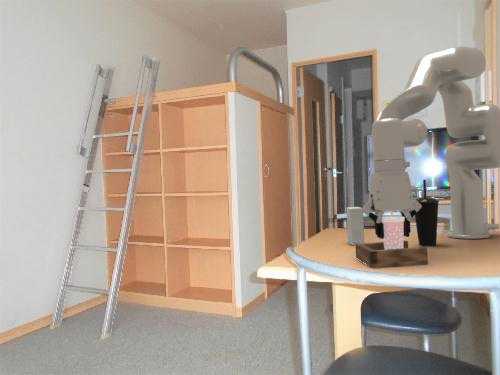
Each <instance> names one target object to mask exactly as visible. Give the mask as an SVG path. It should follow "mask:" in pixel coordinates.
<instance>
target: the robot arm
mask: <svg viewBox="0 0 500 375" xmlns="http://www.w3.org/2000/svg"><path fill="white" fill-rule="evenodd" d="M486 65H487V58H486V56H485V55H484V52H483V51H481V49H479V48H478V47H477V48H476V47H468V46H453V47H448V48H445V49H442V50H439V51H435V52H432V53H428V54H426V55H423V56H421V57H420V58H419V59H417V61H416V62H415V64H414V67H413V69H412V71H411V74H410V76H409V78H408V81H407V83H406V86H405V88H404V89H403V91H402V92H400V93H399V94H398V95H396V96H395V97H394V98H393V99H392V100H391V101H390V102H388V103H387V104H386V105H385V106H384V107H383V108H382V109H381V110H380V112H379V113H378V115H377V118H376V120H375V121H374V122H372V124H371V142H372V154H373V157H372V158H373V168H374V169H373V171H374V173H371V174H370V178H369V179H370V180H369V188H368V200H367V202H366V203H365V204H364V205H363V207H361V208H362V211H363V214H365V215H366V216H368V217H369V219H370V220H372V222H374V232H375V236H376V237H377V238H378V239H381V240H383V238H384V224H383V223H382V221H381V220H382V217H384V214H385V213H388V212H390V213H391V211H393V212H399V213H400V216H401V217H405V219H404V220H405V221H404V237H406V238H410V233H411V231H412V230H411V221H412V220H413V218H415V214H416V212H418V211H419V209H420V208H421V207H422V205H421V204H420V203H419V202H418V201H416V200H415V199H416V198H414V197H413V190H412V184H411V180H410V175H409V171H406V170H407V168H409V167H410V166H411V162H410V161H407V160H406V159H405V157H406V156H405V148H414V147H418V146H421V145H422V144H423V143H424V142H425V141H426V140H427V137H428V128H427V125H426V124H425V122H424V121H423V120H421V119H419V118H413V117H412V118H409V117H411V116H413V115H415V114H418V113H419V112H421V111H423V110H425V109H426V108H428V107H429V106H430V105H432V103H433V102H434V101H435V99H436V97H437V94H438V93H439V95H440V97H441V99H442V104H443V111H444V119H445V125H446V126H445V127H446V130H447V133H448V135H449V137H451V138H456V139H459V138H471V137H479V136H480V137H481V136H483V137H484V138H485V139H477V140H475V139H474V140H473V139H472V140H466V141H465V140H464V141H458V142H455V143H451V144H450V145H448V147H447V148H446V149H445V153H444V154H445V161H446V162H445V163H446V166H447V170H448V175H449V176H448V178H449V188H450V189H449V191H450V193H449V194H450V209H451V210H450V212H451V215H450V216H451V231H448V232H446V235H447V237H449V238H453V239H454V238H455V239H462V240H464V239H465V240H469V239H470V240H473V239H474V240H476V239H477V240H478V239H480V240H481V239H487V238H490V237H491V232H490V231H491V230H499V229H500V224H499V223H488V222H486V221H485V208H484V206H485V205H484V186H483V182H482V179H481V178H480V176H479V175H478V174H477V173H476V172H475V170H476V171H477V170H492V169H499V168H500V107H499V106H498V105H496V104H494V103H487V104H486V103H485V104H479V105H475V104H474V100H473V91H472V90H471V88H470V87H469V85H468V84H466V83H465V82H464V81H466V80H471V79H475V78H479V77H481V75H483V73H484V72H485V70H486ZM372 211H374V213H373V212H372Z"/></svg>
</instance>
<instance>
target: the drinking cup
mask: <svg viewBox="0 0 500 375" xmlns="http://www.w3.org/2000/svg"><path fill="white" fill-rule="evenodd" d="M422 180H423V181H422V183H423V184H422V185H423V196H420V197H417V198H414V199H415V200H416V201H418V202H419V203H420V204H421V205H422V207H421V208H420V209H419V211H418V212H416V214H415V215H414V218H415V220H414V221H415V226H416V233H417V239H418V246H419V247H435V246H437V236H438V218H439V217H438V216H439V202H440V200H439V199H437V198H435V197H432V196H427V182H426V181H427V180H426V179H422Z"/></svg>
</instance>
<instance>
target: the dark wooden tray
mask: <svg viewBox="0 0 500 375" xmlns="http://www.w3.org/2000/svg"><path fill="white" fill-rule="evenodd" d="M354 246H355V259H356V258H358V259H359V260H361V261H362V262H361V261H360V262H361V263H363V262H364V263H366V264H367V265H369V266H370V267H369V266H368V267H369V268H370V269H376V268H375V267H381V268H395V267H409V266H408V265H411V266H421V265H420V264H425V265H428V264H429V259H428V258H429V257H428V247H427V246H419V247H409V241H408V240H404V243H403V248H401V249H386V250H384V242H383V241H379V242H378V241H377V242H365V243H360V244H355V245H354ZM358 259H357V260H358ZM359 260H358V261H359ZM364 263H363V264H364ZM366 264H365V265H366ZM367 265H366V266H367Z"/></svg>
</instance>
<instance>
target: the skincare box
mask: <svg viewBox="0 0 500 375" xmlns="http://www.w3.org/2000/svg"><path fill="white" fill-rule="evenodd" d="M362 208H363V207H359V206H353V207H352V206H351V207H349V206H347V207H346V228H347V230H346V232H347V243H348V244H349V245H352V246H355V244H360V243H366V242H365V224H364V223H365V222H364V212H363V211H362Z"/></svg>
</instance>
